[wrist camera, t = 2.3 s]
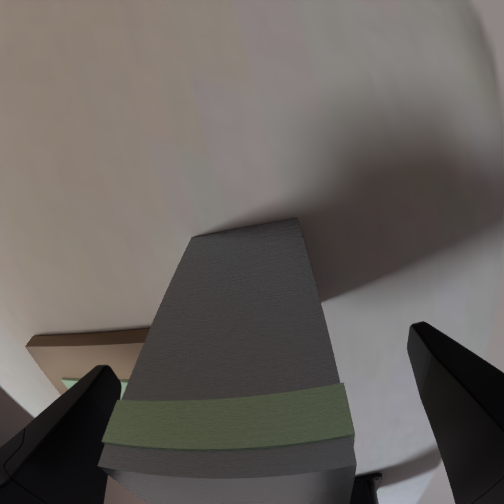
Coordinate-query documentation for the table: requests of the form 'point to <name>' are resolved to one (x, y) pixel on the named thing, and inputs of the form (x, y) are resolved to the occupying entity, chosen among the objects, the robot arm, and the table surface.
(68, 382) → the stand plate
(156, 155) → the table surface
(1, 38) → the table surface
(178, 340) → the column
